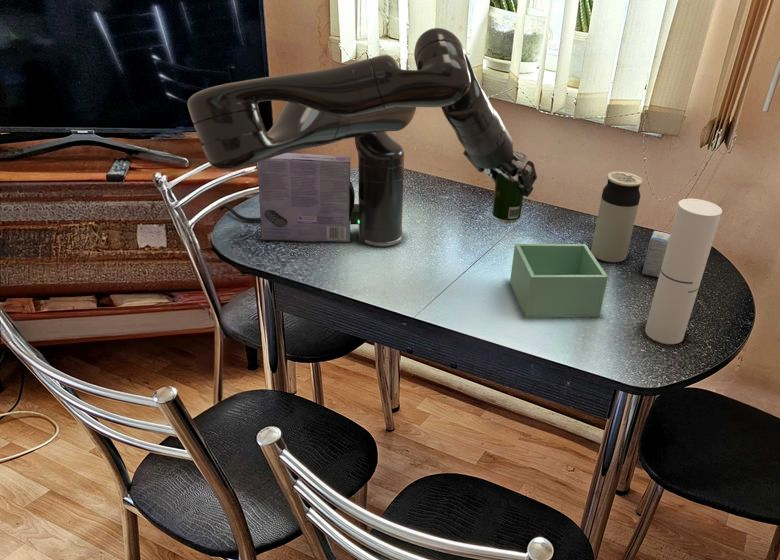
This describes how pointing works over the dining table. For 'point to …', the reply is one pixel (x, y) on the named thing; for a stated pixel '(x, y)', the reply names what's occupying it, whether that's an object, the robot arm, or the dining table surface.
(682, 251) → the cylindrical container
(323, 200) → the cake pan box
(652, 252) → the medicine box
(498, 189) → the beer can
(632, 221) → the travel mug
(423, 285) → the dining table surface
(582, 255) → the bin
